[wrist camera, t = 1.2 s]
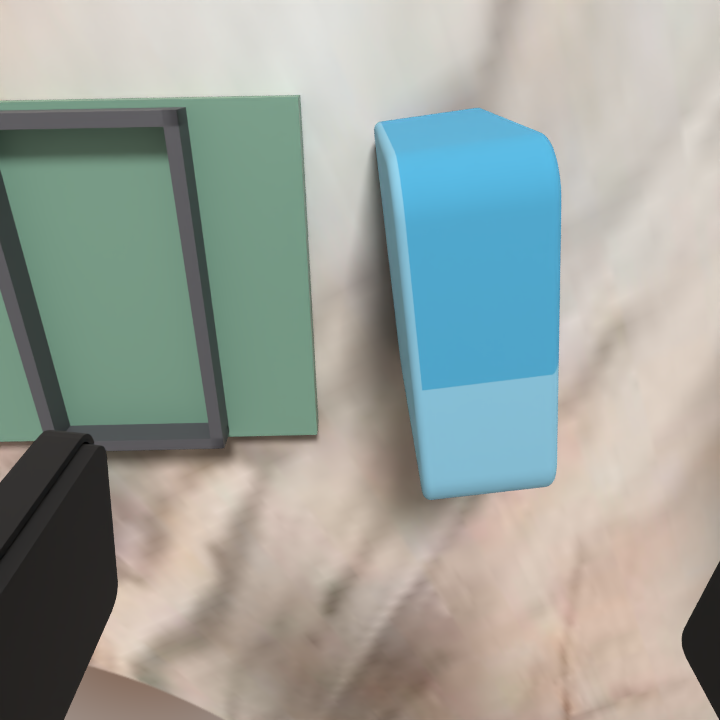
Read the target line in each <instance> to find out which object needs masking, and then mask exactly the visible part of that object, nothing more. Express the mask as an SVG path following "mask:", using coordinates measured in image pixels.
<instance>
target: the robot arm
mask: <svg viewBox="0 0 720 720" xmlns="http://www.w3.org/2000/svg"><path fill="white" fill-rule="evenodd" d="M117 588H118V579H117V568H116V556H115V545H114V534H113V522H112V511H111V499H110V488H109V477H108V465H107V454H106V450H105V448H104V446H102V445H94V440H93V438H92V436H91V435H90V434H87V433H77V432H66V431H56V430H46V431H44V432H43V433H41V434H40V435H39V437H38V438H37V439H36V440H35V441H34V443H33V444H32V445H31V446H30V447H29V449H28V450H27V451H26V452H25V453H24V455H23V456H22V457H21V458H20V459H19V461H18V462H17V463H16V464H15V465H14V467H13V468H12V469H11V470H10V471H9V473H8V474H7V475H6V476H5V477H4V479H3V480H2V481H1V482H0V720H64V718H65V716H66V713H67V711H68V709H69V707H70V704H71V702H72V700H73V698H74V695H75V693H76V691H77V689H78V687H79V684H80V682H81V680H82V678H83V675H84V673H85V671H86V668H87V666H88V664H89V662H90V659H91V657H92V655H93V653H94V650H95V648H96V646H97V644H98V641H99V639H100V637H101V635H102V632H103V630H104V628H105V626H106V623H107V621H108V619H109V616H110V614H111V612H112V609H113V607H114V604H115V600H116V595H117ZM682 647H683V651H684V654H685V656H686V659H687V660H688V662H689V664H690V666H691V668H692V670H693V672H694V674H695V675H696V677H697V679H698V681H699V683H700V685H701V687H702V688H703V690H704V692H705V694H706V696H707V698H708V700H709V701H710V703H711V705H712V707H713V709H714V711H715V713H716V714H717V716H718V718H719V720H720V561H719V563H718V565H717V567H716V569H715V571H714V573H713V575H712V577H711V578H710V580H709V582H708V584H707V586H706V588H705V590H704V592H703V594H702V596H701V597H700V599H699V601H698V603H697V605H696V607H695V609H694V611H693V613H692V615H691V616H690V618H689V620H688V622H687V624H686V626H685V628H684V630H683V633H682Z"/></svg>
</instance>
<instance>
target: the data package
mask: <svg viewBox="0 0 720 720" xmlns="http://www.w3.org/2000/svg"><path fill="white" fill-rule="evenodd" d="M374 134H375V145H376V154H377V163H378V172H379V180H380V189H381V198H382V206H383V215H384V224H385V232H386V241H387V249H388V258H389V267H390V275H391V284H392V293H393V301H394V310H395V319H396V327H397V336H398V344H399V352H400V360H401V367H402V374H403V380H404V386H405V392H406V398H407V404H408V410H409V416H410V422H411V428H412V434H413V440H414V446H415V452H416V458H417V464H418V470H419V476H420V482H421V488H422V493H423V495H424V497H425V498H426V499H429V500H435V499H444V498H452V497H461V496H470V495H479V494H487V493H496V492H505V491H514V490H522V489H531V488H540V487H547V486H549V485H550V484H552V482H553V481H554V479H555V475H556V469H557V427H558V368H559V309H560V249H561V184H560V175H559V169H558V164H557V159H556V156H555V152H554V149H553V147H552V145H551V143H550V141H549V140H548V138H547V137H546V136H545V135H544V134H542V133H540V132H538V131H535V130H533V129H530V128H528V127H525V126H523V125H520V124H518V123H515V122H513V121H510V120H508V119H505V118H503V117H500V116H498V115H495V114H493V113H491V112H488V111H486V110H483V109H481V108H473V109H466V110H459V111H452V112H445V113H438V114H431V115H424V116H417V117H410V118H403V119H396V120H389V121H382V122H378V123H377V124H376V125H375V128H374Z"/></svg>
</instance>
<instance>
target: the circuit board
mask: <svg viewBox="0 0 720 720" xmlns="http://www.w3.org/2000/svg"><path fill="white" fill-rule="evenodd" d="M46 430H56V431H66V432H77V433H87V434H90V435H91V436H92V438H93V440H94V445H102V446H104V448H105V450H106V451H130V450H174V449H219V448H224V447H225V444H226V441H227V438H228V437H235V436H280V435H317V431H318V409H317V391H316V373H315V355H314V337H313V319H312V301H311V283H310V265H309V247H308V229H307V211H306V193H305V175H304V157H303V139H302V121H301V103H300V95H285V96H231V97H176V98H122V99H68V100H13V101H0V442H11V441H35V440H36V439H37V438H38V437H39V435H40V434H41V433H43V432H44V431H46Z"/></svg>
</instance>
